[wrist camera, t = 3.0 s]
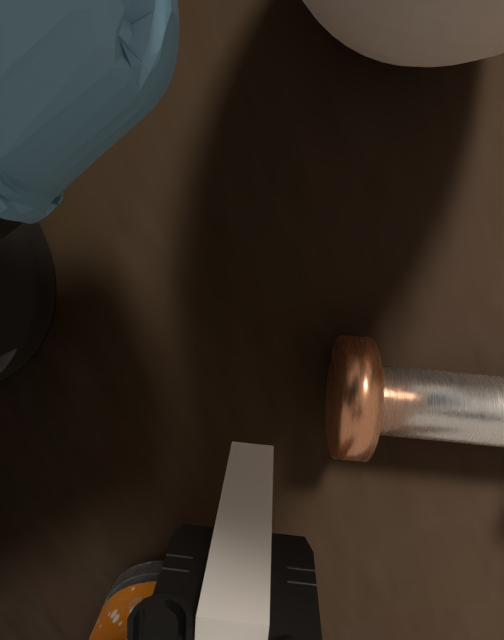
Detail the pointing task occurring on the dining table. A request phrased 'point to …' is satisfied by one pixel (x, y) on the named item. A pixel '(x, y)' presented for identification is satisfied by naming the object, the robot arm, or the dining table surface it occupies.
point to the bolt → (404, 403)
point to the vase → (415, 29)
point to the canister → (125, 600)
